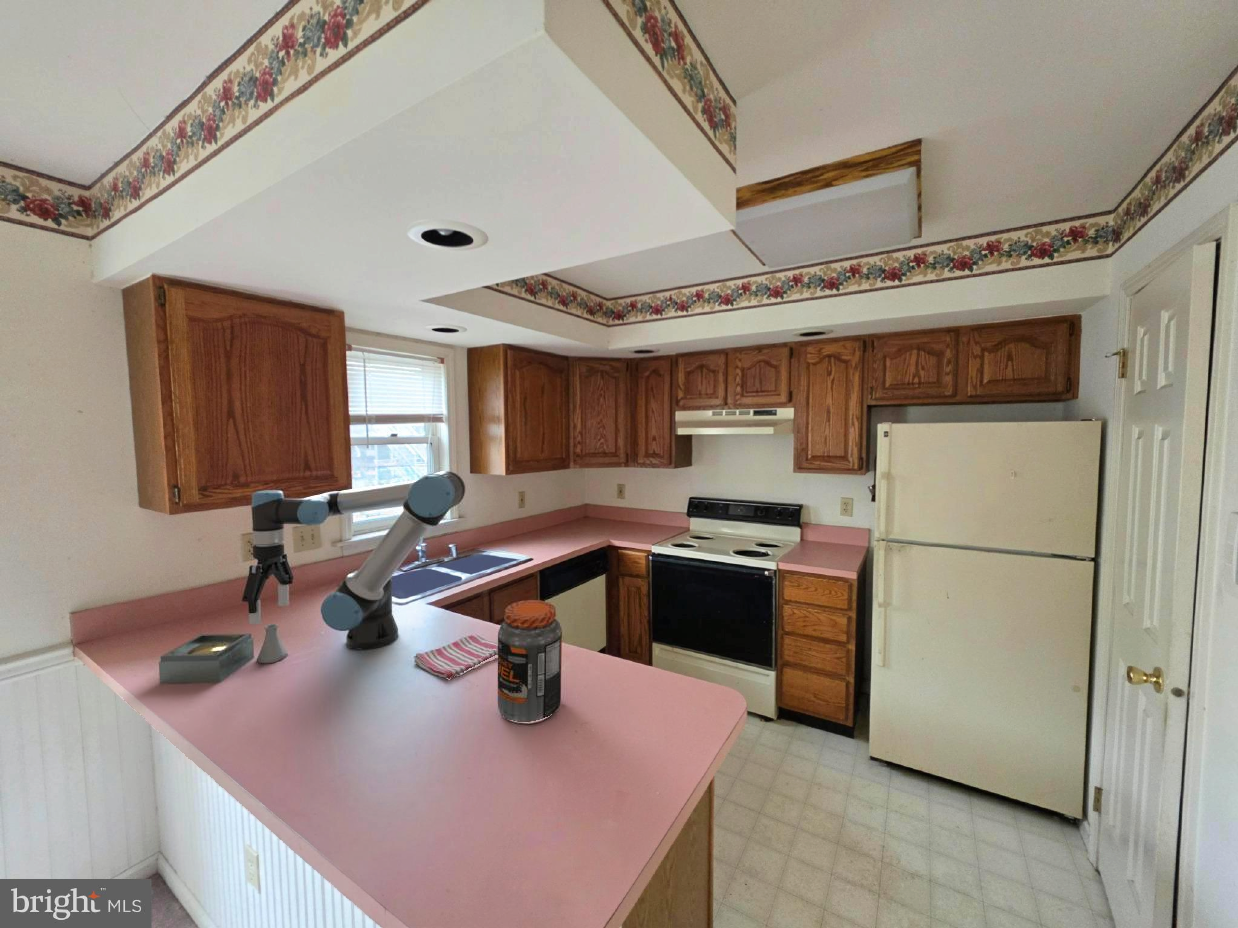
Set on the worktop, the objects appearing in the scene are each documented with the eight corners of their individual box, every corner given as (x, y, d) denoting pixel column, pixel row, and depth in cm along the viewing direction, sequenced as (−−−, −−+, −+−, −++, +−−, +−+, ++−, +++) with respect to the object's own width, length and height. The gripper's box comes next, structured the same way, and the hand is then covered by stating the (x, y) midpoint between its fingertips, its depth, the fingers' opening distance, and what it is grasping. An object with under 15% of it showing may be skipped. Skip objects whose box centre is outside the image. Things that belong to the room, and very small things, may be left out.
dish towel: (411, 665, 144) (411, 654, 144) (476, 638, 163) (476, 628, 163) (446, 684, 134) (446, 672, 134) (511, 653, 153) (511, 642, 153)
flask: (271, 665, 141) (270, 632, 140) (251, 662, 143) (249, 629, 142) (293, 654, 148) (292, 622, 147) (273, 651, 150) (272, 619, 149)
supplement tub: (486, 705, 124) (486, 605, 122) (540, 685, 134) (541, 592, 132) (516, 736, 111) (517, 626, 110) (573, 711, 122) (575, 610, 120)
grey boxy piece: (253, 657, 145) (253, 633, 145) (219, 682, 131) (218, 655, 131) (200, 658, 144) (198, 634, 143) (159, 683, 130) (158, 656, 130)
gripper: (280, 533, 155) (281, 599, 156) (224, 554, 130) (226, 631, 132) (305, 534, 156) (306, 599, 157) (254, 554, 131) (256, 631, 132)
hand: (270, 614), depth 144 cm, fingers open, 13 cm apart
